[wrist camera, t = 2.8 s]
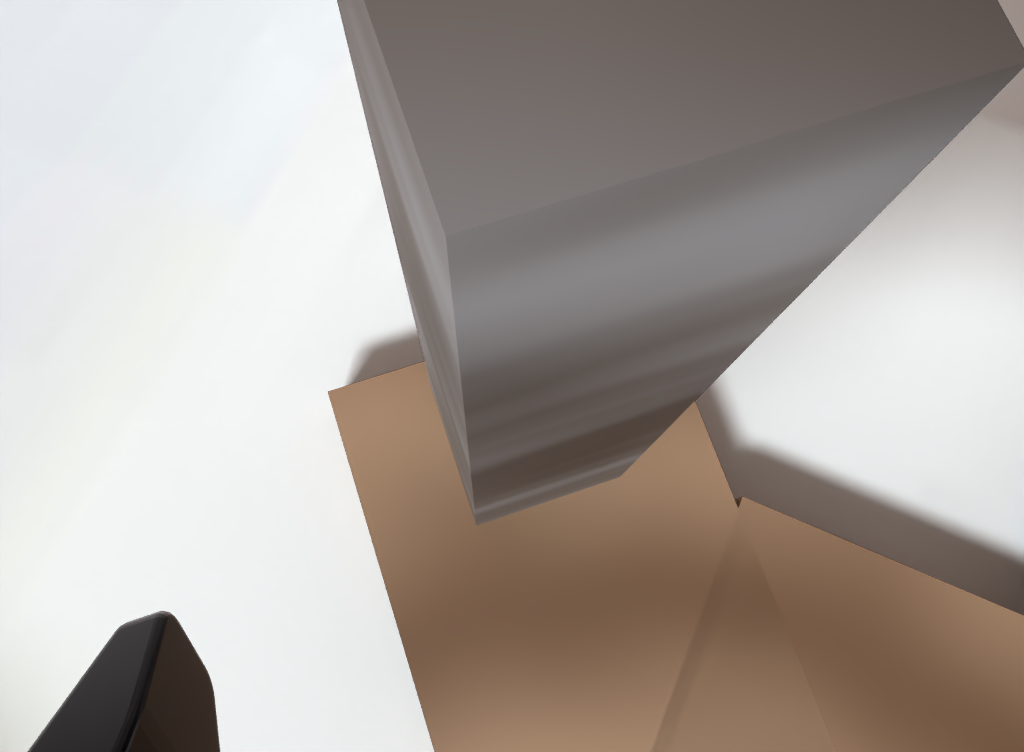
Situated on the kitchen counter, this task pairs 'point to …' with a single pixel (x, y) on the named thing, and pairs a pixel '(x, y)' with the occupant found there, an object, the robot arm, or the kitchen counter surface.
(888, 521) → the kitchen counter surface
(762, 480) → the kitchen counter surface
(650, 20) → the pull board
